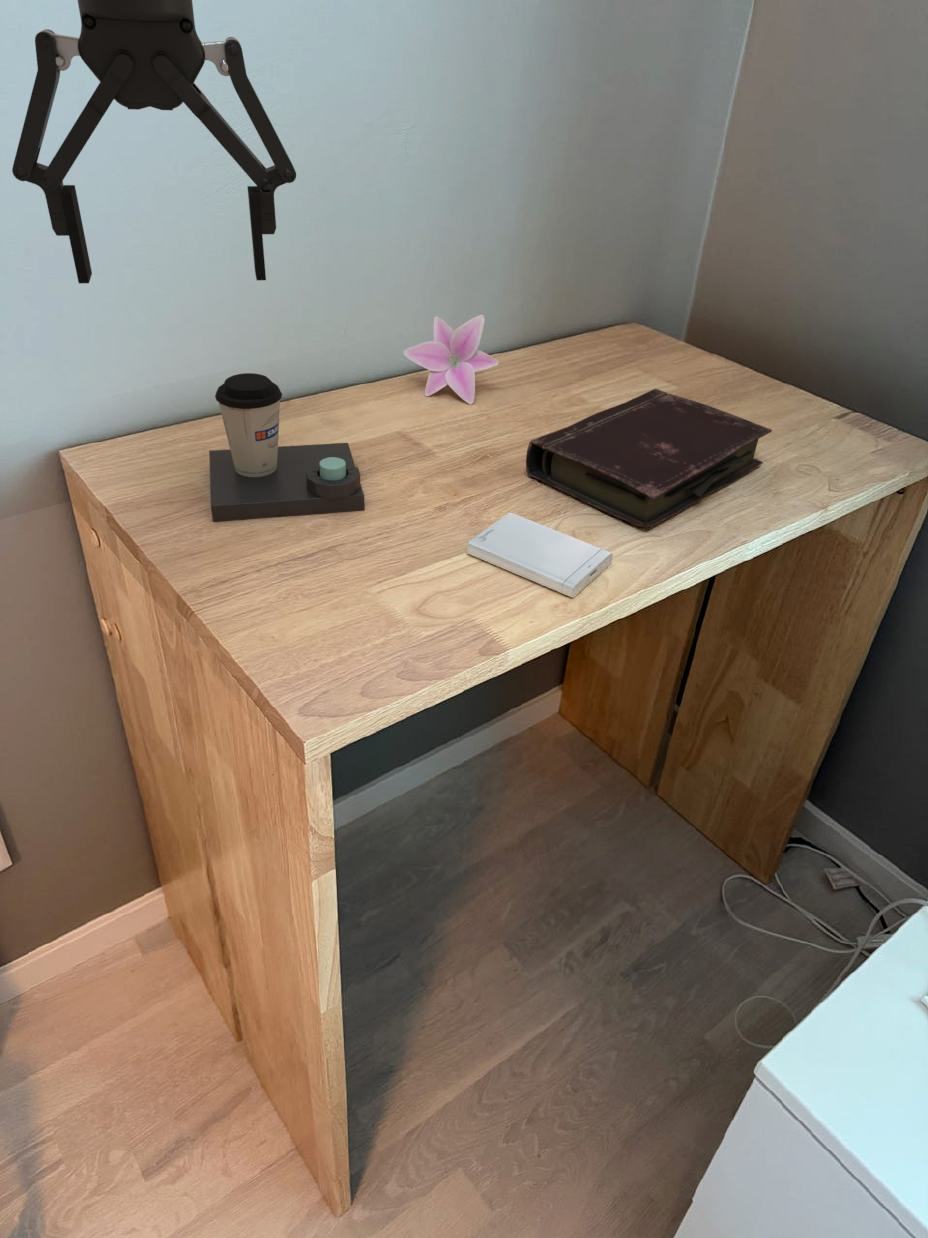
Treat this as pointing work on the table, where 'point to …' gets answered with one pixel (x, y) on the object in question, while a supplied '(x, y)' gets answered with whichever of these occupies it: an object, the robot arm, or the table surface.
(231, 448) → the coffee cup
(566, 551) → the hard drive
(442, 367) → the lily
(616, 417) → the diary
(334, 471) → the button
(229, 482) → the scale
